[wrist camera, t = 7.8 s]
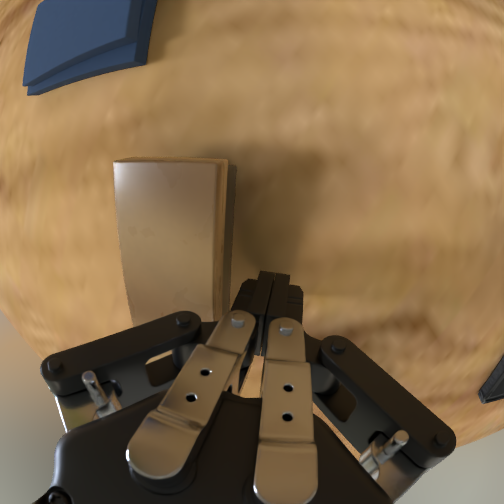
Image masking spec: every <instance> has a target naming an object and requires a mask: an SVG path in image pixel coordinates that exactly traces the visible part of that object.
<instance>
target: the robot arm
mask: <svg viewBox="0 0 504 504" xmlns="http://www.w3.org/2000/svg"><path fill="white" fill-rule="evenodd" d="M274 278H275V280H274ZM289 282H290V275H288V274H281V273H276V275H275V273H274V272H267V271H260V274H259V277H258V280H255V279H247V280H246V281H245V282H243V283H242V285H241V287H240V290H239V292H238V295H237V297H236V299H235V301H234V304H233V306H232V308H231V311H228V312H226V313H225V314H224V315H223V316H222V317H221V319H220V320H219V321H214V322H201V318H200V316H199V315H198V314H196V313H194V312H191V311H178V312H175V313H172V314H169V315H166V316H164V317H161V318H158V319H155V320H153V321H150V322H147V323H144V324H141V325H139V326H136V327H133V328H130V329H127V330H124V331H121V332H118V333H116V334H113V335H110V336H107V337H104V338H101V339H98V340H95V341H92V342H89V343H86V344H83V345H80V346H77V347H74V348H71V349H67V350H64V351H61V352H58V353H55V354H52V355H50V356H48V357H47V358H45V359H44V361H43V362H42V364H41V367H40V372H41V375H42V376H43V378H44V380H45V381H46V383H47V384H48V386H49V389H50V391H51V392H52V394H53V395H54V397H55V398H56V401H57V404H58V408H59V411H60V414H61V418H62V420H63V424H64V427H65V429H66V433H65V434H64V435H63V436H62V438H60V440H59V442H58V443H57V446H56V448H55V454H54V473H53V479H52V483H51V486H50V488H49V490H48V491H47V492H46V493H45V494H44V495H43V496H42V497H41V498H39V499H38V500H37V501H35V502H33V503H32V504H394V503H395V502H396V501H397V500H398V499H399V498H400V497H402V496H403V495H404V493H406V492H407V491H408V490H409V489H410V488H411V487H412V485H414V484H415V483H416V482H417V481H418V479H419V478H420V477H421V476H422V475H423V474H425V473H426V472H428V471H429V470H430V469H432V468H433V467H434V466H436V465H437V464H438V463H440V462H441V461H442V460H444V459H445V458H446V457H447V456H449V455H450V454H451V453H452V452H453V451H454V449H455V446H456V436H455V434H454V432H453V430H452V429H451V428H450V427H449V426H447V425H446V424H445V423H444V422H443V421H442V420H440V419H439V418H438V417H437V416H436V415H435V414H434V413H432V412H431V411H430V410H429V409H428V408H427V407H426V406H424V405H423V404H422V403H421V402H420V401H419V400H417V399H416V398H415V397H414V396H413V395H412V394H411V393H409V392H408V391H407V390H406V389H405V388H404V387H403V386H401V385H400V384H399V383H398V382H397V381H396V380H395V379H393V378H392V377H391V376H390V375H389V374H388V373H386V372H385V371H384V370H383V369H382V368H381V367H380V366H378V365H377V364H376V363H375V362H374V361H373V360H372V359H370V358H369V357H368V356H367V355H366V354H365V353H364V352H362V351H361V350H360V349H359V348H358V347H357V346H356V345H354V344H353V343H352V342H351V341H350V340H348V339H347V338H345V337H342V336H336V335H333V336H328V337H326V338H324V339H323V340H322V341H320V340H318V339H315V338H313V337H311V336H309V335H308V334H307V333H306V332H305V331H304V329H303V326H302V315H303V291H302V289H301V288H300V286H295V285H289ZM262 343H263V344H262ZM261 347H262V351H261ZM170 350H171V351H172V354H170V355H167V356H165V357H163V358H160V359H158V360H155V361H153V362H150V363H148V364H146V363H147V361H148V360H149V359H151V358H153V357H156V356H158V355H161V354H163V353H165V352H168V351H170ZM260 351H261V356H264V363H263V369H262V377H261V386H260V395H259V398H243V397H240V395H241V392H242V389H243V387H244V384H245V382H246V379H247V376H248V374H249V371H250V368H251V363H252V362H253V358H254V355H257V356H260ZM312 401H313V402H314V403H315V404H316V405H317V407H318V408H319V409H320V410H321V411H322V412H323V413H324V415H325V416H326V417H327V418H328V419H329V420H330V421H331V422H332V424H333V425H334V426H335V427H336V428H337V429H338V430H339V431H340V432H341V433H342V435H343V436H344V437H345V438H346V439H347V440H348V441H349V442H350V443H351V444H352V445H353V446H354V447H355V449H356V450H357V451H358V452H359V453H360V454H361V455H360V458H359V461H358V460H357V459H356V458H355V457H354V456H353V455H352V453H351V452H350V451H349V450H348V449H347V448H346V446H345V445H344V444H343V443H342V442H341V440H340V439H339V438H338V437H337V436H336V434H335V433H334V432H333V431H332V430H331V428H330V427H329V426H328V425H327V424H326V423H325V422H324V421H323V420H322V419H321V418H319V417H318V416H316V415H315V414H313V403H312Z"/></svg>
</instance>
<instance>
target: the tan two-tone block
mask: <svg viewBox="0 0 504 504" xmlns="http://www.w3.org/2000/svg"><path fill="white" fill-rule="evenodd" d="M236 170H237V167H236V165H228V160H226V159H213V158H191V157H131V158H126V159H121V160H116V161H114V189H115V206H116V219H117V229H118V239H119V247H120V255H121V262H122V269H123V275H124V281H125V287H126V293H127V298H128V303H129V308H130V313H131V318H132V323H133V327H136V326H139V325H141V324H144V323H147V322H150V321H153V320H155V319H158V318H161V317H164V316H166V315H169V314H172V313H175V312H178V311H191V312H194V313H196V314H198V315H199V316H200V318H201V322H214V321H219V320H220V319H221V317H222V316H223V315H224V314H225V313H226V312H228V311H229V300H230V277H231V256H232V237H233V219H234V202H235V185H236ZM170 354H172V351H171V350H170V351H168V352H165V353H163V354H161V355H158V356H156V357H153V358H151V359H149V360H148V361H147V363H146V364H148V363H150V362H153V361H155V360H158V359H160V358H163V357H165V356H167V355H170Z"/></svg>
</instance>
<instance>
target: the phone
mask: <svg viewBox="0 0 504 504" xmlns="http://www.w3.org/2000/svg"><path fill="white" fill-rule="evenodd" d="M478 395H479V398H480V400H481V403H482V404H485V403H489V402H493V401H497V400H500V399H504V357H503V358H502V360H501V361H500V363H499V364H498V366H497V367H496V369H495V370H494V372H493V373H492V374H491V376H490V377H489V379H488V380H487V381H486V383H485V384H484V386H483V387H482V388H481V389H480V391H479V393H478Z"/></svg>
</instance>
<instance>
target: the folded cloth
mask: <svg viewBox="0 0 504 504" xmlns="http://www.w3.org/2000/svg"><path fill="white" fill-rule="evenodd" d="M156 4H157V0H44V1H43V2H41V3H40V4H39V5H38V7H37V11H36V14H35V18H34V22H33V26H32V30H31V34H30V39H29V44H28V49H27V55H26V61H25V68H24V76H23V86H28V92H27V95H28V96H31V95H40V94H43V93H45V92H48V91H50V90H53V89H56V88H59V87H61V86H64V85H67V84H70V83H73V82H76V81H80V80H83V79H86V78H90V77H93V76H97V75H101V74H105V73H109V72H113V71H117V70H122V69H126V68H131V67H136V66H142V65H146V60H147V53H148V46H149V40H150V34H151V28H152V23H153V18H154V13H155V8H156Z"/></svg>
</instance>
